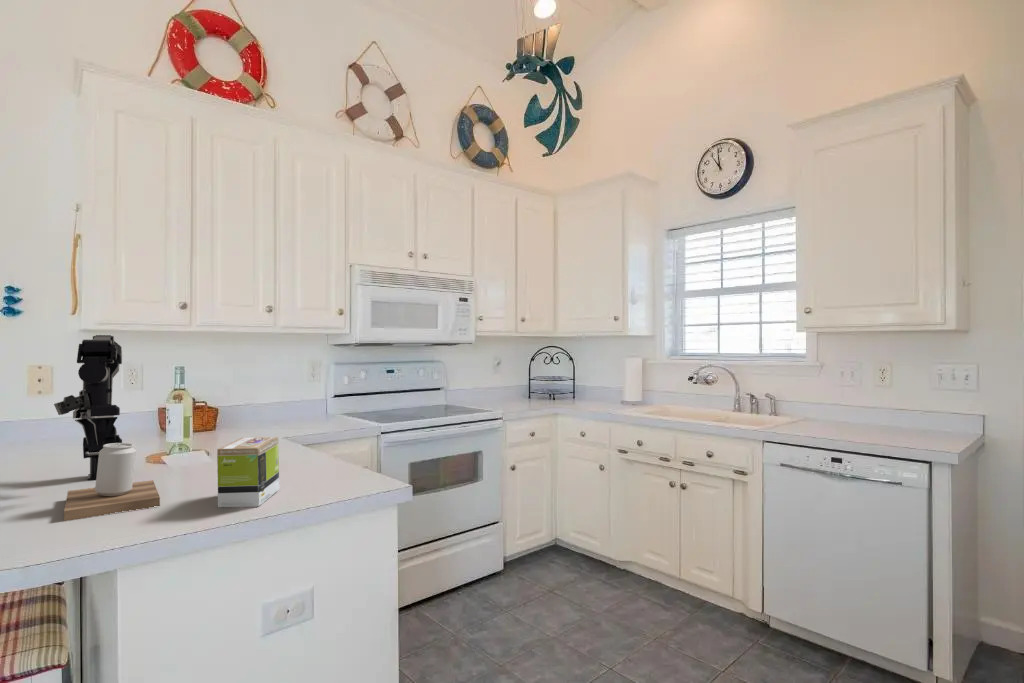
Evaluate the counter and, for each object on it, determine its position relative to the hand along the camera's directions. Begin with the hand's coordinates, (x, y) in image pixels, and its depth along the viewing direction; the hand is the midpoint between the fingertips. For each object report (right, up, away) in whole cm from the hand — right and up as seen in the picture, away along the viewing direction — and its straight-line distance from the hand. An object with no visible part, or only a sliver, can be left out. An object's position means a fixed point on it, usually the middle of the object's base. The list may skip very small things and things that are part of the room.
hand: (95, 444), depth 144 cm
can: (+12, -10, -9) cm, 18 cm away
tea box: (+44, -13, -5) cm, 46 cm away
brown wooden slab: (+12, -13, -9) cm, 20 cm away
